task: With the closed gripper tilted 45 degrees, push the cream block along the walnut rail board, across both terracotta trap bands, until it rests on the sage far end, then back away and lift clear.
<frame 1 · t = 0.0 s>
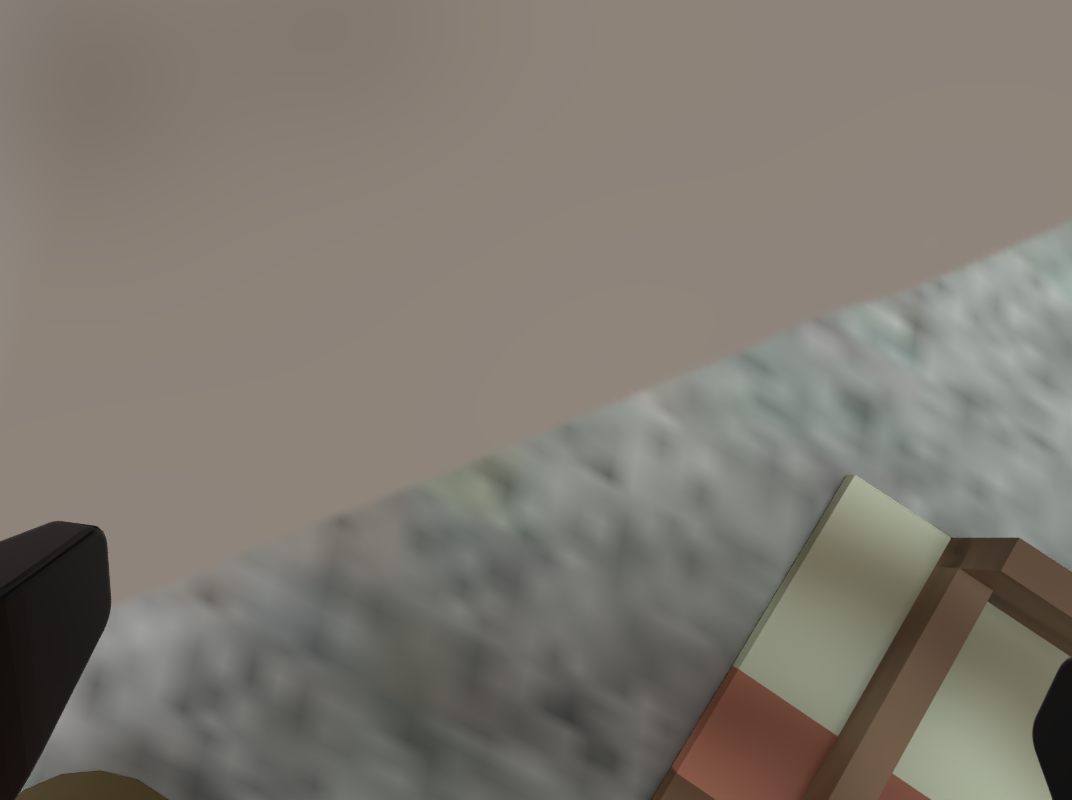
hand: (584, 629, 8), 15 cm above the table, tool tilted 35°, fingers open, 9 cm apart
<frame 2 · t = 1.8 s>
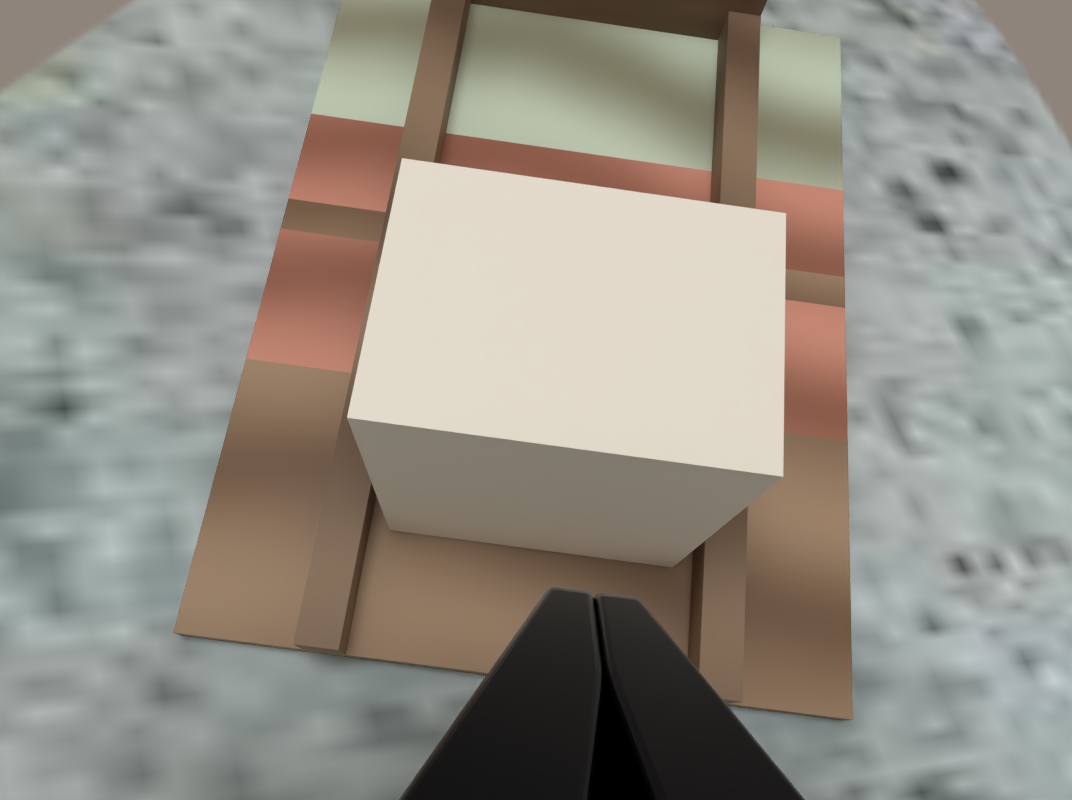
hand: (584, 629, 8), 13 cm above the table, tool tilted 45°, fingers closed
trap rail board: (561, 294, 25), on the table
cream block: (558, 395, 18), point 5 cm above the table, slide at 0.0 cm
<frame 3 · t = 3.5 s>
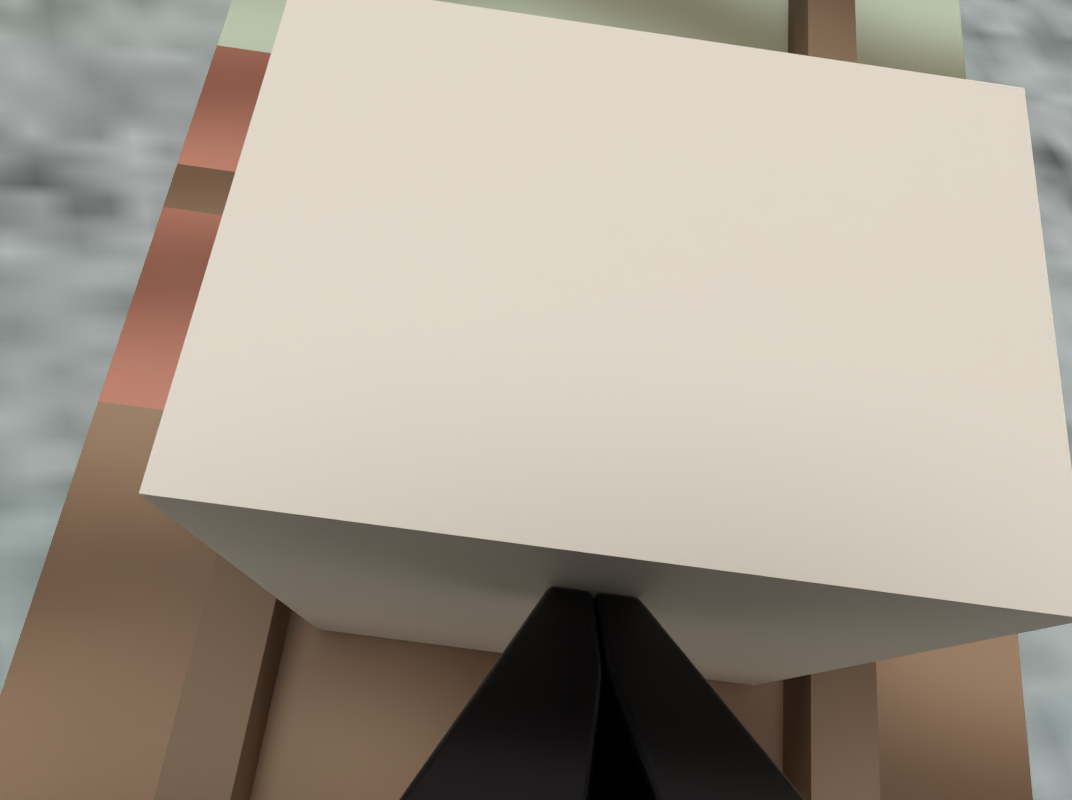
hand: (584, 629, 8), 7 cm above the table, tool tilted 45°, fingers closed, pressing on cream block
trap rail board: (574, 303, 17), on the table
cream block: (584, 425, 11), point 5 cm above the table, slide at 0.7 cm, touching gripper
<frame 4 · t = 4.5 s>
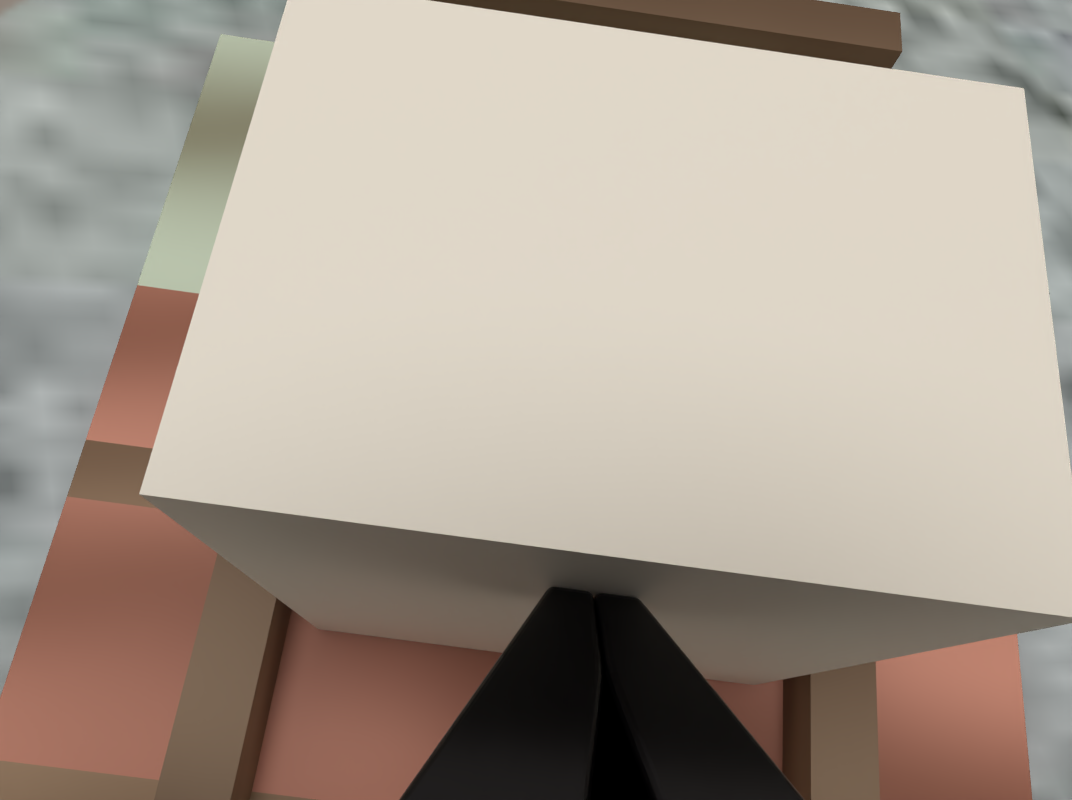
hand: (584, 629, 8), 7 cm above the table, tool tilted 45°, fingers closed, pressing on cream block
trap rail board: (542, 595, 15), on the table
cream block: (584, 425, 11), point 5 cm above the table, slide at 6.4 cm, touching gripper
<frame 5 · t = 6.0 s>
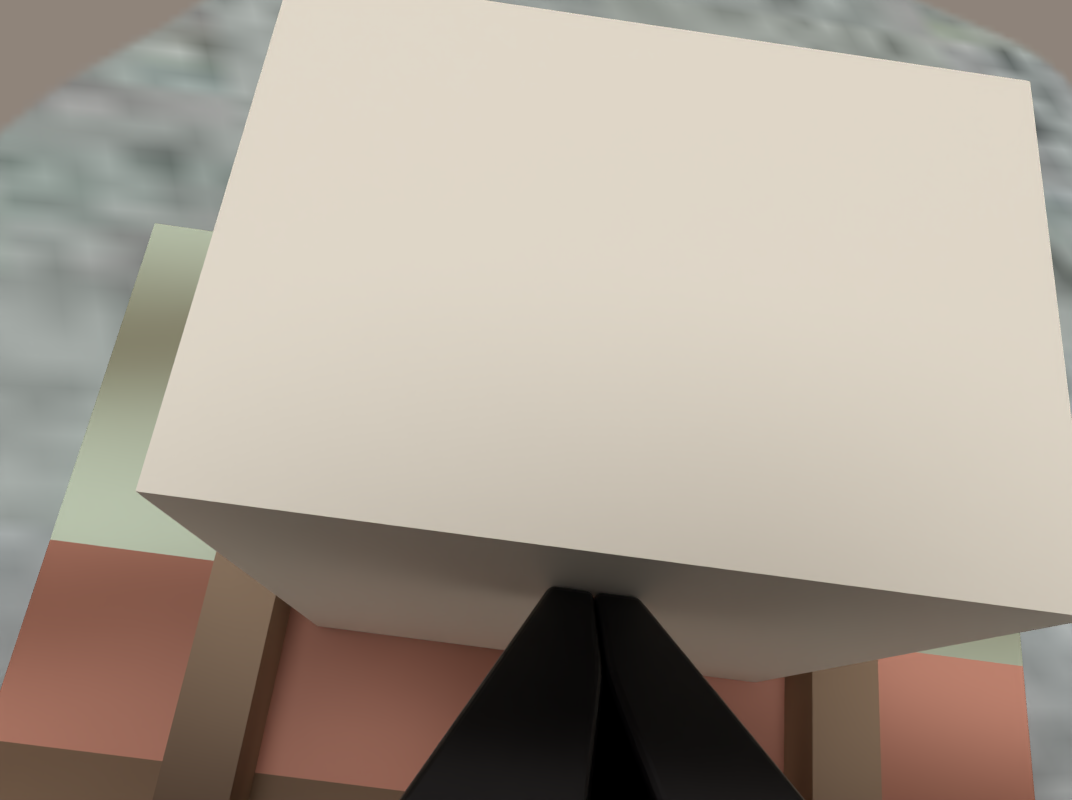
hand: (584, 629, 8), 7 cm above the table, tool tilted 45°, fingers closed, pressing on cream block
cream block: (585, 421, 11), point 5 cm above the table, slide at 11.2 cm, touching gripper
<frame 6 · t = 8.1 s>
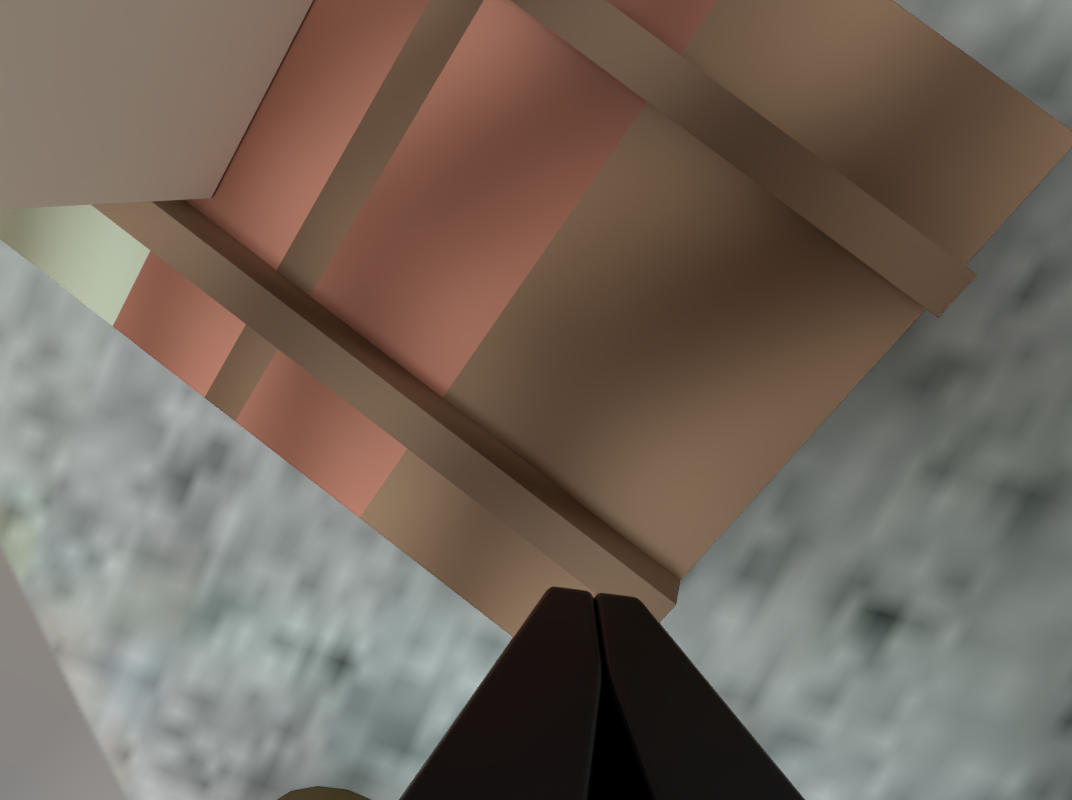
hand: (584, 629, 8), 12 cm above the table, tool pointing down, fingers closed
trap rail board: (421, 165, 20), on the table
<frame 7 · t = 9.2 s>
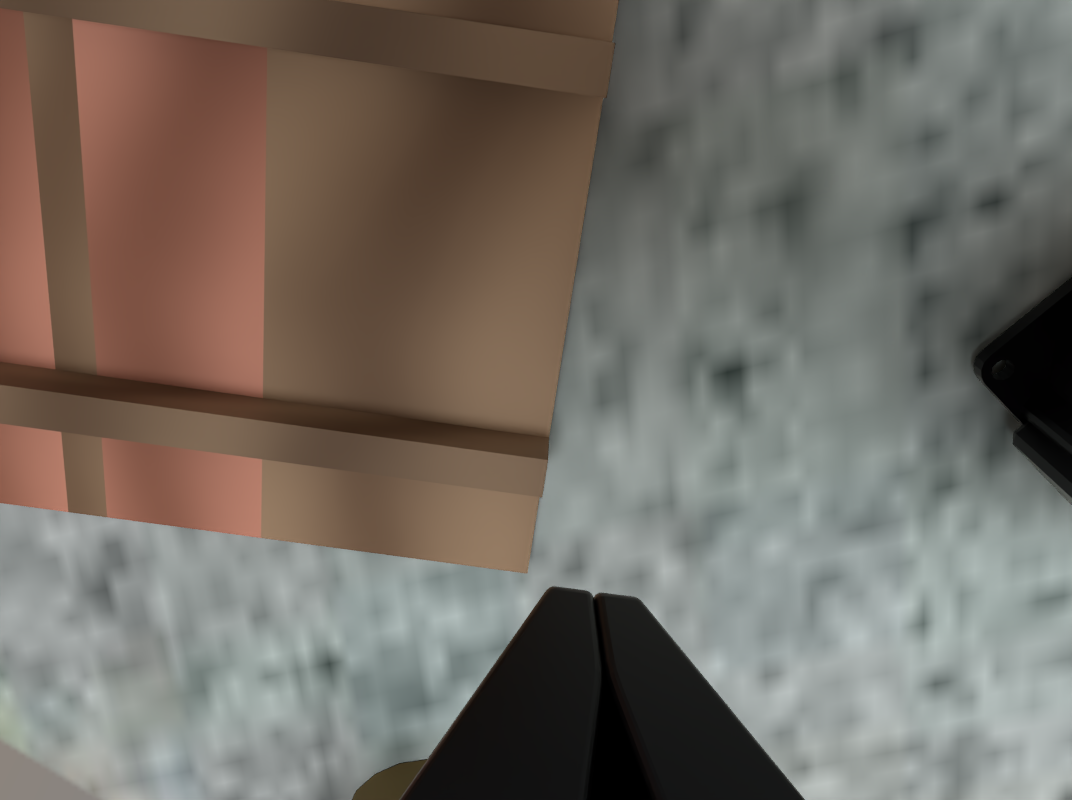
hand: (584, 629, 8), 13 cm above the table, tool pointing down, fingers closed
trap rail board: (120, 208, 20), on the table
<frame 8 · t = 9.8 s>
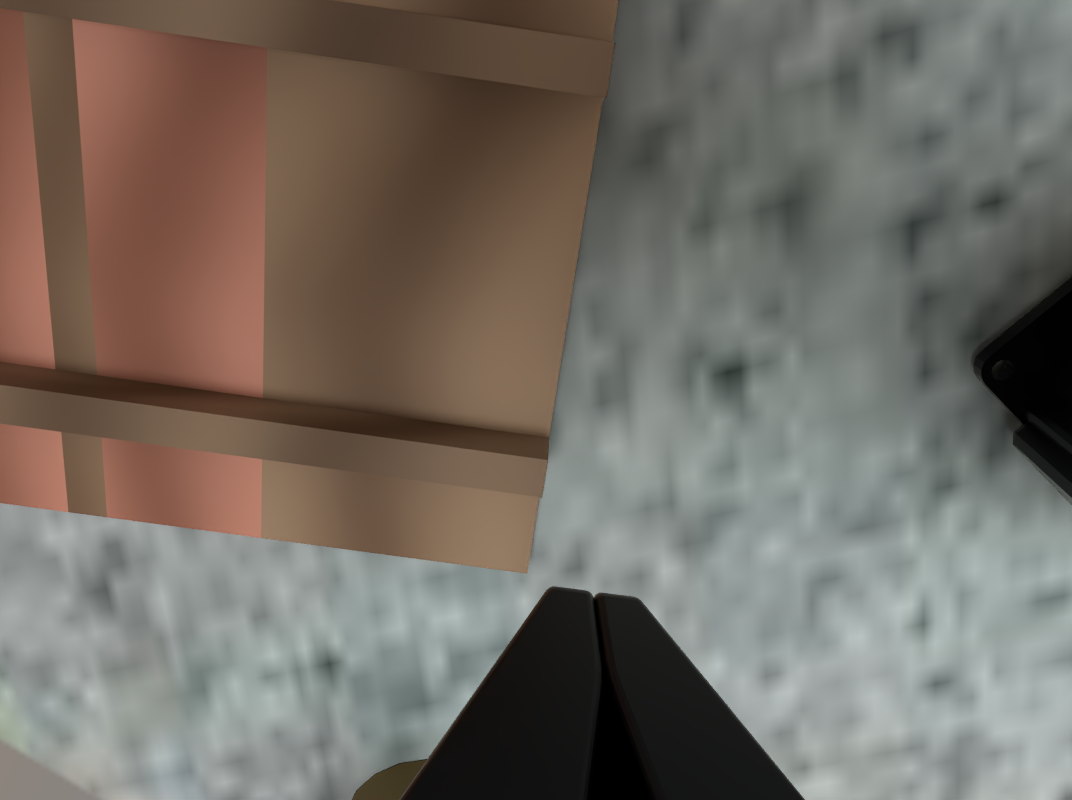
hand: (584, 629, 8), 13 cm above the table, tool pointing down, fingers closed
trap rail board: (120, 208, 20), on the table
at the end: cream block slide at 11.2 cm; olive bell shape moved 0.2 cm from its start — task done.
